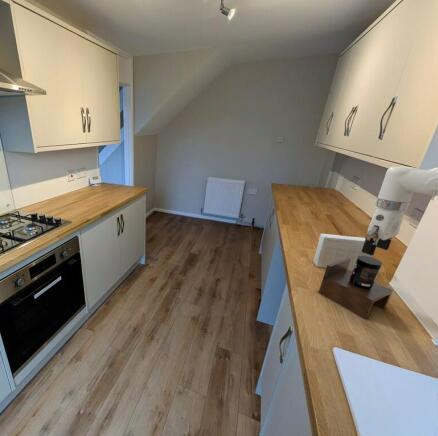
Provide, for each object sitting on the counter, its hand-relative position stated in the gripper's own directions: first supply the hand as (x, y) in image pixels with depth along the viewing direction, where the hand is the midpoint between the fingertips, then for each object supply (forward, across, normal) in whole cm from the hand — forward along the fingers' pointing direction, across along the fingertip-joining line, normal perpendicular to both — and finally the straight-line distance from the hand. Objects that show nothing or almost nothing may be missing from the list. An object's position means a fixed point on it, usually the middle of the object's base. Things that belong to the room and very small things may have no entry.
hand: (374, 250), depth 84 cm
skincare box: (+22, +22, +18) cm, 36 cm away
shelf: (+22, 0, +2) cm, 22 cm away
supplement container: (+14, 0, +1) cm, 15 cm away
